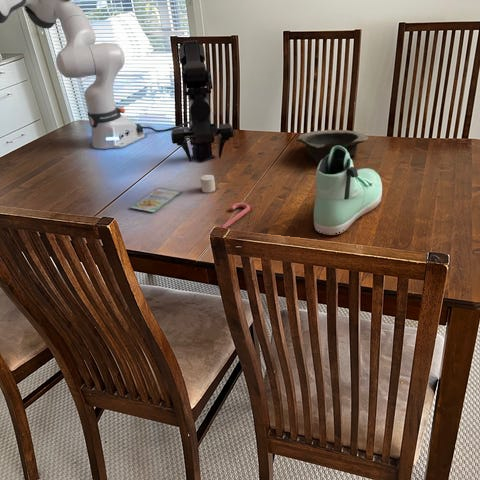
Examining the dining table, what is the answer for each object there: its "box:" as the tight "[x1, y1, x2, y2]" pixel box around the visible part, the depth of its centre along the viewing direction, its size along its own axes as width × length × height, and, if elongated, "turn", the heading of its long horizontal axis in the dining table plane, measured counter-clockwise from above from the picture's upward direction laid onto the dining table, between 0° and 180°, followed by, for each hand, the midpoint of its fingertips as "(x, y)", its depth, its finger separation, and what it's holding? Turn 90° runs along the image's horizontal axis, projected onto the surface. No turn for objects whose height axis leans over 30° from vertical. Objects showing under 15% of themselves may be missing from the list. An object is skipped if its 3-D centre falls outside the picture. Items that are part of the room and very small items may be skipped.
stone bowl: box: [296, 129, 369, 165], centre depth 171 cm, size 25×25×9 cm
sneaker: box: [313, 146, 383, 236], centre depth 133 cm, size 14×35×20 cm, turn 152°
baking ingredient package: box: [130, 188, 181, 213], centre depth 152 cm, size 9×1×15 cm
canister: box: [200, 174, 216, 194], centre depth 155 cm, size 4×4×4 cm
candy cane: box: [220, 202, 251, 229], centre depth 139 cm, size 6×15×2 cm, turn 145°
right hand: (205, 159), depth 151 cm, fingers open, 9 cm apart
